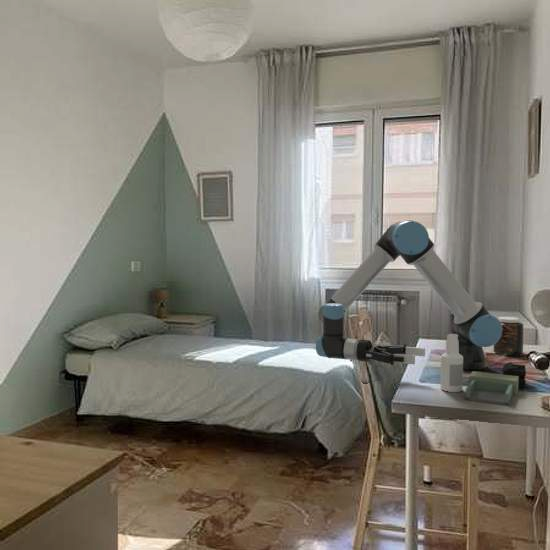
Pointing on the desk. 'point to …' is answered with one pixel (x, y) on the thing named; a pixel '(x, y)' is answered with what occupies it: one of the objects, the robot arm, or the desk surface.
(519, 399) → the desk surface
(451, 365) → the spray bottle
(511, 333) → the jar
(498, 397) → the chute bracket
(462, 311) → the robot arm
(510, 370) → the end cap
